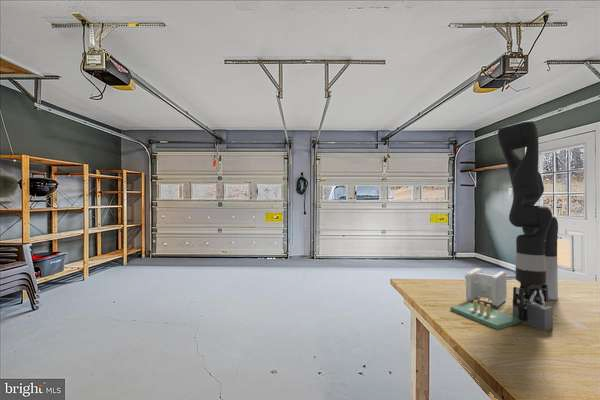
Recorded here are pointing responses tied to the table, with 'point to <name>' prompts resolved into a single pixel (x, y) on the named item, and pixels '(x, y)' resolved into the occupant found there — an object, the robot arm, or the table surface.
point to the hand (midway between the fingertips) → (531, 317)
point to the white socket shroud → (486, 286)
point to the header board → (486, 314)
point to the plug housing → (537, 316)
